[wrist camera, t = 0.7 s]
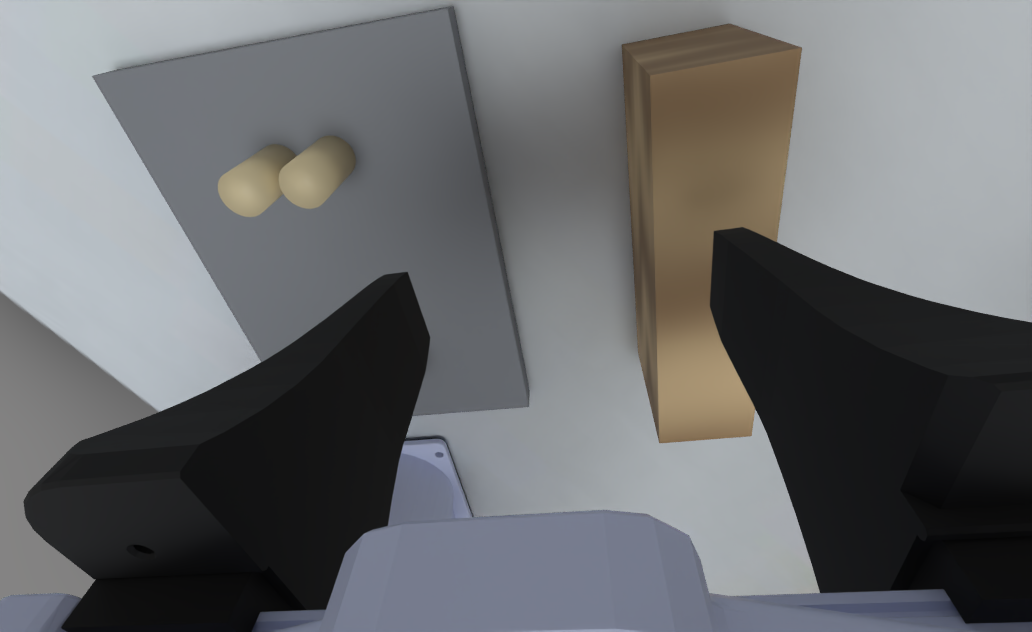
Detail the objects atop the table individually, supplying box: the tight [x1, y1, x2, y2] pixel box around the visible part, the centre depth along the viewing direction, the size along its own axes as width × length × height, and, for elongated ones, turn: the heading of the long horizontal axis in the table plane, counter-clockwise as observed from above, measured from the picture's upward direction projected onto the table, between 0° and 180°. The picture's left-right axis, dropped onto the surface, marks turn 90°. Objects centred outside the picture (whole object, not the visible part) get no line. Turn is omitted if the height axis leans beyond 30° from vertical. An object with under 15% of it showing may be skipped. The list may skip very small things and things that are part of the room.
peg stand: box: [92, 6, 530, 416], centre depth 21 cm, size 18×13×4 cm
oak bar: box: [622, 24, 802, 443], centre depth 19 cm, size 14×4×6 cm, turn 10°
